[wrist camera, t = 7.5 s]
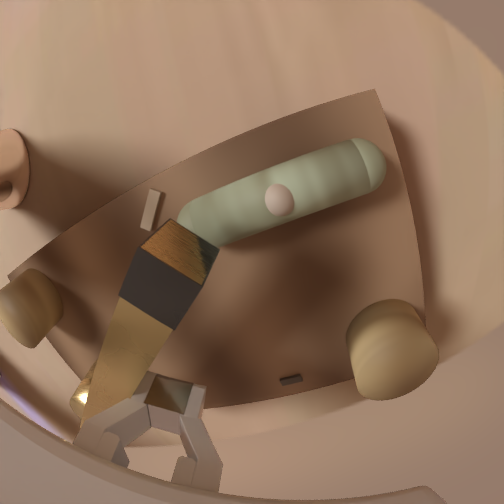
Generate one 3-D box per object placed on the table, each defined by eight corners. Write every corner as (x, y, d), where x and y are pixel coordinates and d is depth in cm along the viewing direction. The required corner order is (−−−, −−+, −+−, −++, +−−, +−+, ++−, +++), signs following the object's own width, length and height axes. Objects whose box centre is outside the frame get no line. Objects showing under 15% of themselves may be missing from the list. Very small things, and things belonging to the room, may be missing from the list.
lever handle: (140, 408, 17) (117, 464, 13) (89, 377, 17) (58, 429, 12) (264, 235, 11) (254, 317, 6) (170, 176, 10) (92, 216, 6)
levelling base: (124, 388, 22) (99, 438, 16) (31, 258, 17) (-19, 296, 11) (409, 321, 16) (443, 388, 11) (354, 96, 11) (406, 76, 6)
